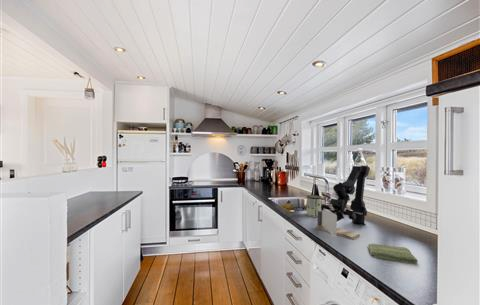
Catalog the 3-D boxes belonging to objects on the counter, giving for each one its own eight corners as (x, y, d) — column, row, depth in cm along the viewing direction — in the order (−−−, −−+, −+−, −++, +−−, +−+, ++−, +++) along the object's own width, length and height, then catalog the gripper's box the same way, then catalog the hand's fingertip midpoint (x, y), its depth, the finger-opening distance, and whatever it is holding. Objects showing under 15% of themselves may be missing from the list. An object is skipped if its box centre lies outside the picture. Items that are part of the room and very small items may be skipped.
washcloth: (366, 246, 112) (366, 240, 112) (408, 253, 106) (409, 247, 106) (370, 258, 100) (371, 250, 100) (419, 266, 94) (419, 259, 94)
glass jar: (308, 212, 174) (308, 194, 174) (322, 214, 169) (322, 196, 169) (304, 215, 165) (305, 196, 165) (318, 217, 160) (319, 198, 160)
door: (336, 236, 119) (337, 215, 119) (334, 236, 119) (334, 215, 119) (323, 224, 139) (323, 206, 139) (320, 224, 139) (321, 206, 139)
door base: (359, 236, 126) (360, 218, 126) (353, 239, 120) (354, 221, 120) (321, 225, 143) (322, 209, 143) (314, 227, 138) (315, 211, 138)
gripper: (322, 190, 137) (312, 211, 130) (354, 196, 123) (344, 220, 115) (328, 202, 142) (319, 222, 135) (359, 208, 128) (351, 231, 121)
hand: (332, 223), depth 126 cm, fingers closed
